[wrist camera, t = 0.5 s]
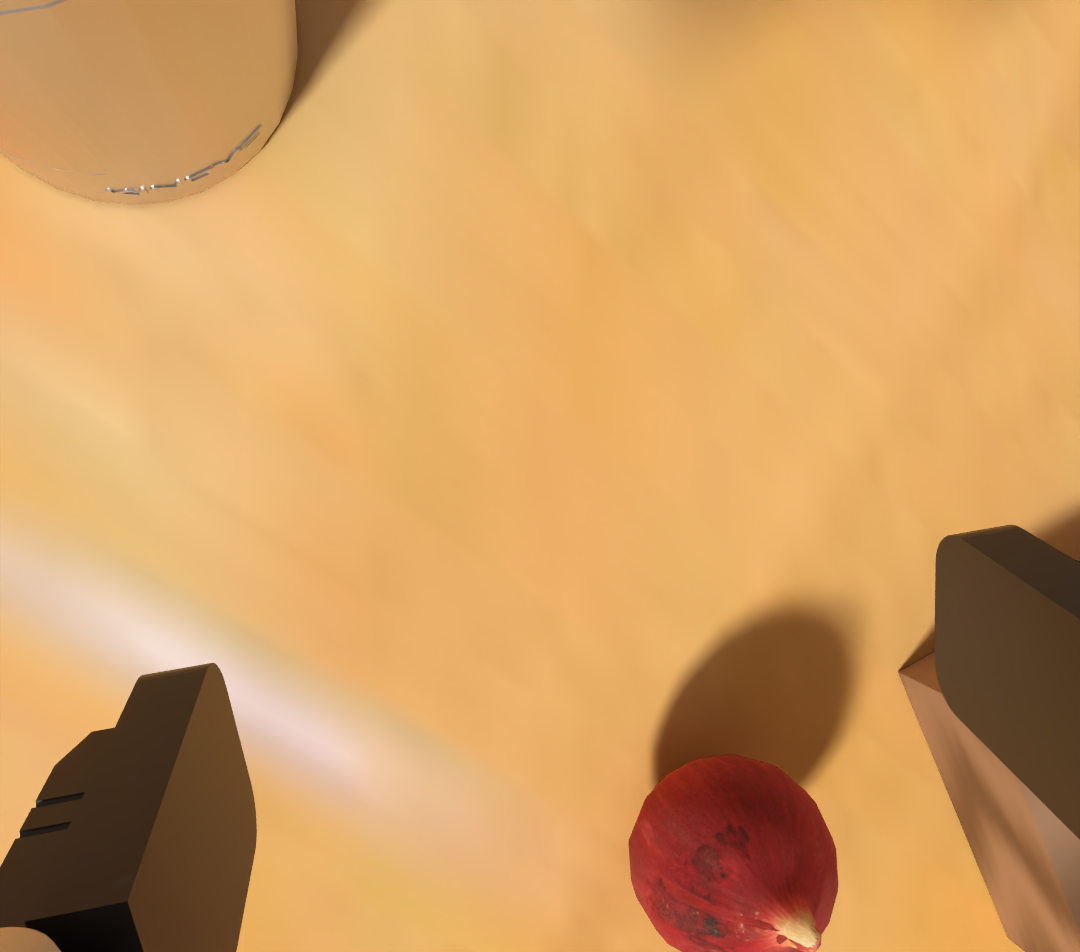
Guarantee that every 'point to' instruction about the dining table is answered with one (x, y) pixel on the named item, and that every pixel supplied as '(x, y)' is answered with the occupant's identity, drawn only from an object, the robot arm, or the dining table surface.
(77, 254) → the dining table surface
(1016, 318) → the dining table surface
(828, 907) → the onion
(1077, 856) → the walnut block
